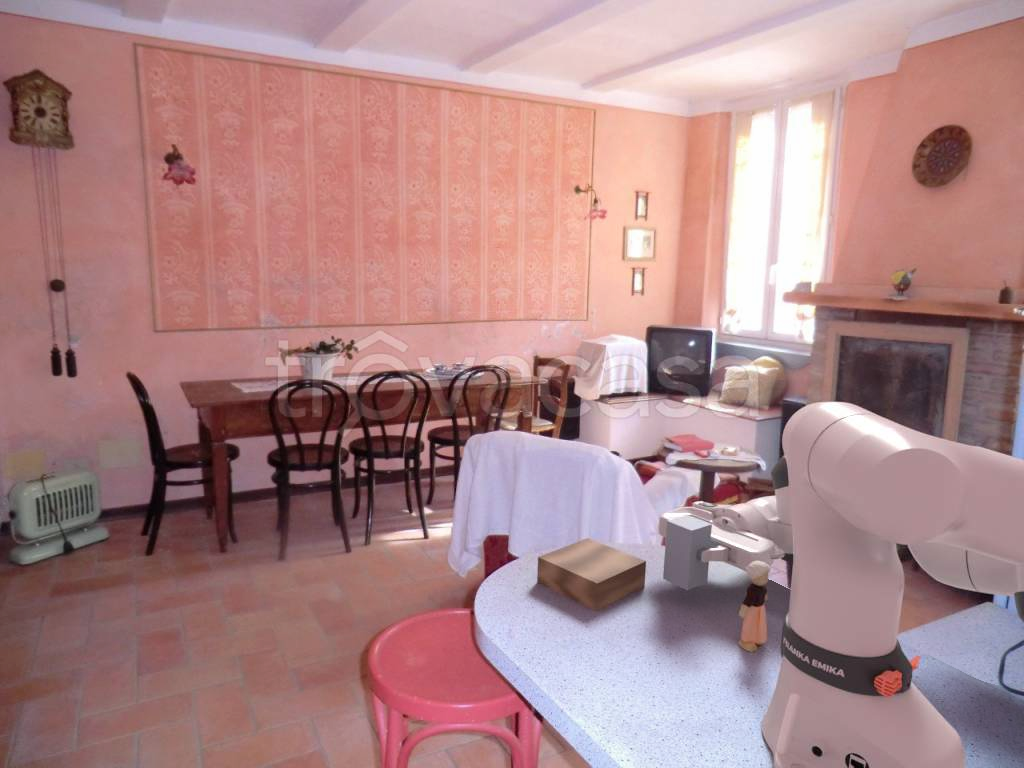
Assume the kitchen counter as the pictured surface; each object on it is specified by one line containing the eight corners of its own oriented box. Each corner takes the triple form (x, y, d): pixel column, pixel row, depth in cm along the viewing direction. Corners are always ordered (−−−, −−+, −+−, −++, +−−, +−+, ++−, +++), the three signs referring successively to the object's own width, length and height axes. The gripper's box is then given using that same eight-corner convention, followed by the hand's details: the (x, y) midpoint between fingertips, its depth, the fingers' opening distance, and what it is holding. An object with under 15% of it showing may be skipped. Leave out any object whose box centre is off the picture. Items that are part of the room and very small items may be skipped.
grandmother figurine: (759, 658, 96) (767, 574, 94) (732, 650, 98) (739, 566, 96) (772, 635, 103) (780, 555, 101) (746, 627, 105) (753, 549, 103)
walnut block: (644, 588, 118) (646, 561, 117) (595, 612, 109) (597, 583, 108) (586, 563, 127) (587, 538, 126) (537, 584, 118) (538, 556, 117)
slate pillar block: (707, 582, 112) (711, 524, 110) (687, 590, 109) (691, 530, 107) (682, 571, 116) (687, 514, 114) (663, 578, 113) (667, 520, 111)
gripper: (788, 570, 112) (737, 592, 103) (688, 530, 128) (636, 547, 120) (792, 534, 111) (740, 553, 102) (690, 498, 127) (638, 512, 118)
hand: (683, 549), depth 111 cm, fingers closed on slate pillar block, 5 cm apart
